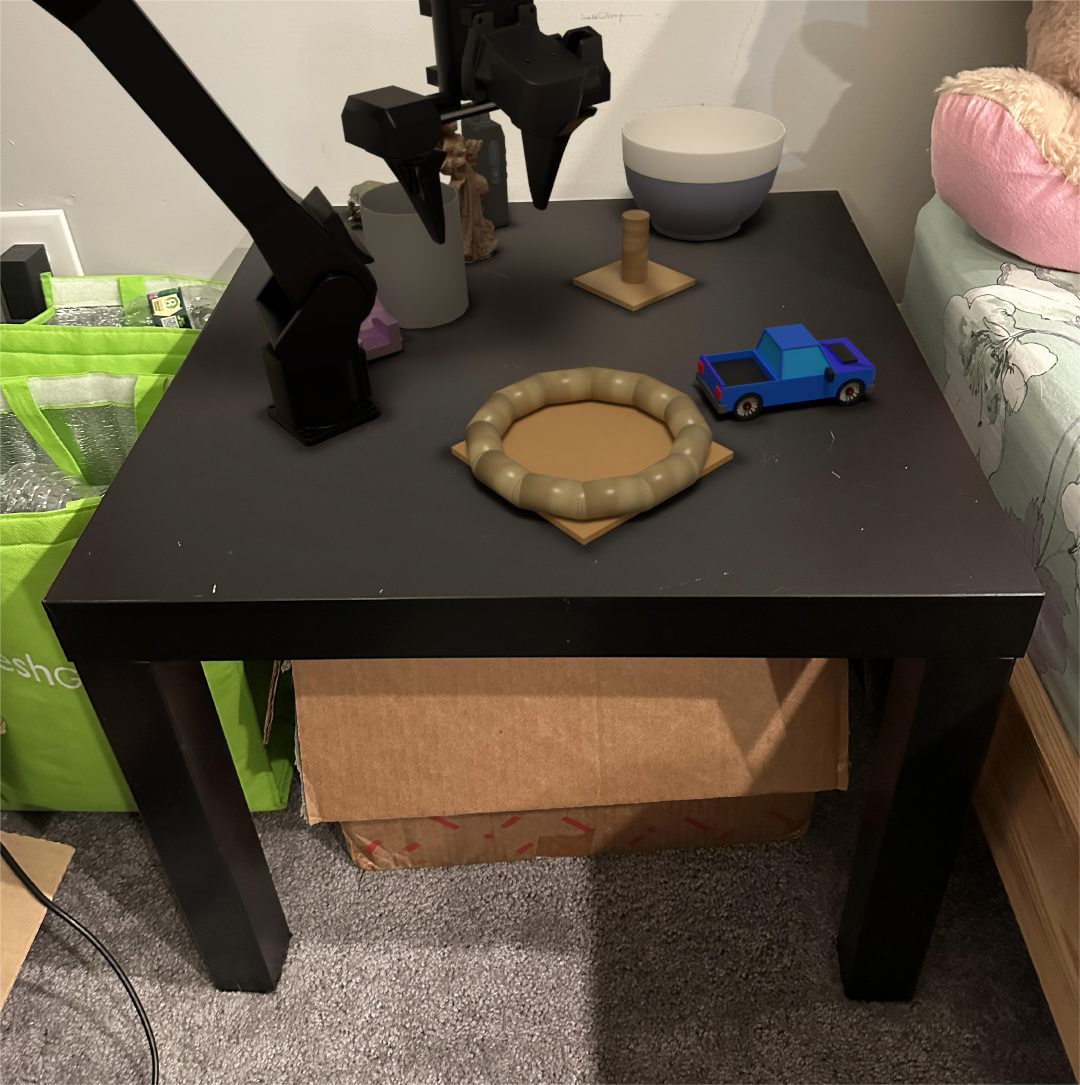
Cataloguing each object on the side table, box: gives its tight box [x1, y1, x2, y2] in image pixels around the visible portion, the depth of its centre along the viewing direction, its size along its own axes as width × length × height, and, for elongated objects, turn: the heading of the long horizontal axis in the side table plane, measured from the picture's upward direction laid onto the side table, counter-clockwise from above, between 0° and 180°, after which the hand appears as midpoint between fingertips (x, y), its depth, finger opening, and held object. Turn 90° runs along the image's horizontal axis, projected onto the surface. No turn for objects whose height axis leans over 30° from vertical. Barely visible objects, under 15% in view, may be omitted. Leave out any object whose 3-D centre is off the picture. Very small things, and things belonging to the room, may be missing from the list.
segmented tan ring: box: [464, 366, 714, 520], centre depth 66 cm, size 17×17×2 cm
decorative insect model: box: [346, 179, 387, 221], centre depth 101 cm, size 9×11×5 cm
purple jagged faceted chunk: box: [358, 296, 404, 362], centre depth 79 cm, size 8×7×6 cm
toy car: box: [695, 323, 877, 421], centre depth 71 cm, size 7×12×5 cm, turn 101°
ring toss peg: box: [572, 209, 696, 312], centre depth 86 cm, size 8×8×7 cm
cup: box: [358, 180, 469, 330], centre depth 83 cm, size 8×8×10 cm
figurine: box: [436, 121, 499, 264], centre depth 90 cm, size 7×6×15 cm
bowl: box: [621, 104, 787, 242], centre depth 96 cm, size 16×16×10 cm
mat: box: [450, 399, 734, 546], centre depth 67 cm, size 14×14×1 cm
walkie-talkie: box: [460, 112, 510, 230], centre depth 95 cm, size 5×3×20 cm
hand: (491, 225), depth 69 cm, fingers open, 9 cm apart
